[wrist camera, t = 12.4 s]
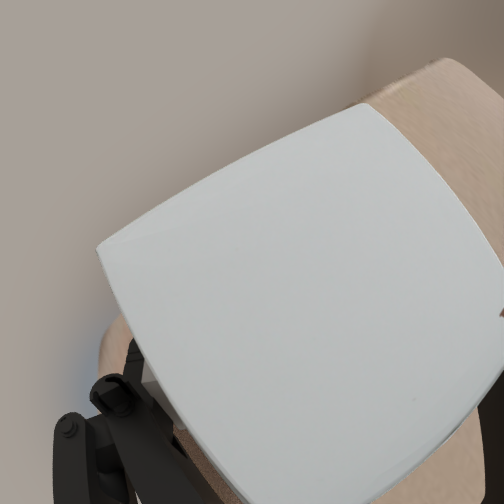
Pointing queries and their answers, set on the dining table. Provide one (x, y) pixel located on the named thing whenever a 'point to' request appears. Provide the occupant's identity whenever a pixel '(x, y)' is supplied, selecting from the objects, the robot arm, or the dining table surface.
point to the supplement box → (315, 311)
